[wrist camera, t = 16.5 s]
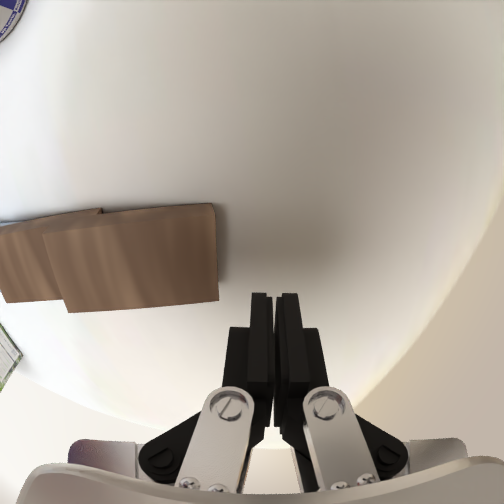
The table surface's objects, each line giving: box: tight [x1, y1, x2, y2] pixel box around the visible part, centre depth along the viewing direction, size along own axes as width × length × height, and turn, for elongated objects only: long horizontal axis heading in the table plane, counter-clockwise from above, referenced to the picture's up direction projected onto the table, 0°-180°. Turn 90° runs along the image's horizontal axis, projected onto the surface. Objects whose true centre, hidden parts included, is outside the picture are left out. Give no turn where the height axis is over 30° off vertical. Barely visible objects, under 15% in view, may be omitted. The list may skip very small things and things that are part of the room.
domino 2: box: [42, 203, 219, 313], centre depth 14 cm, size 2×5×9 cm
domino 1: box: [0, 208, 102, 303], centre depth 15 cm, size 2×5×9 cm
